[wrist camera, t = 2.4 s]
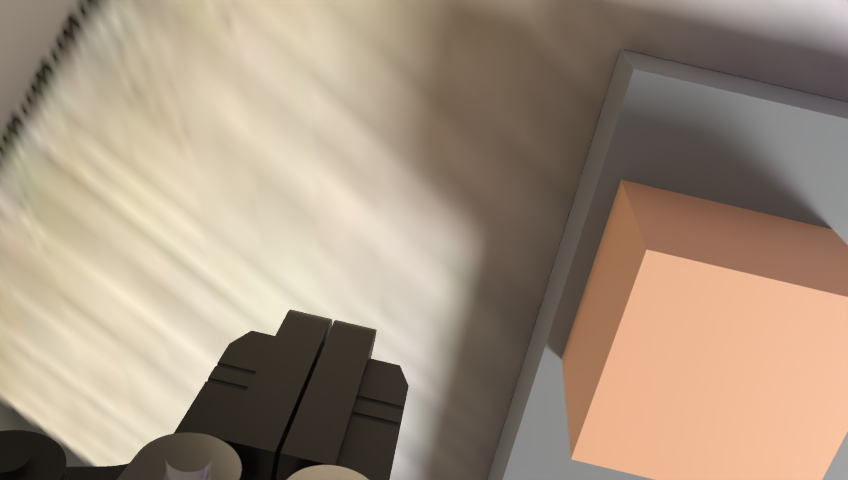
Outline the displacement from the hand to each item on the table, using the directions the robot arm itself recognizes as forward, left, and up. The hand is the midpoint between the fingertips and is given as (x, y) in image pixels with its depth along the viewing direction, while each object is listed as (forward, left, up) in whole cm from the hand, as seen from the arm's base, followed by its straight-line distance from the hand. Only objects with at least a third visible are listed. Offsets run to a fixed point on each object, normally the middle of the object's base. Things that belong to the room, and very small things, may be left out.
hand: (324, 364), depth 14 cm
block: (-8, 0, -7) cm, 10 cm away
